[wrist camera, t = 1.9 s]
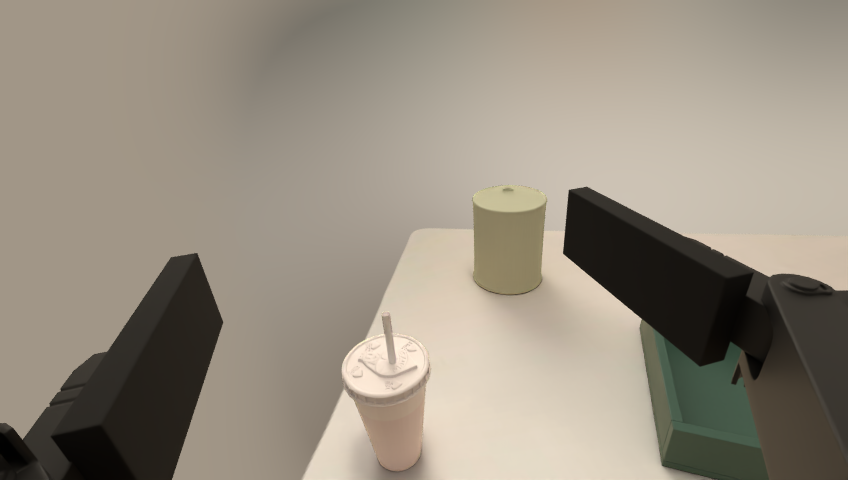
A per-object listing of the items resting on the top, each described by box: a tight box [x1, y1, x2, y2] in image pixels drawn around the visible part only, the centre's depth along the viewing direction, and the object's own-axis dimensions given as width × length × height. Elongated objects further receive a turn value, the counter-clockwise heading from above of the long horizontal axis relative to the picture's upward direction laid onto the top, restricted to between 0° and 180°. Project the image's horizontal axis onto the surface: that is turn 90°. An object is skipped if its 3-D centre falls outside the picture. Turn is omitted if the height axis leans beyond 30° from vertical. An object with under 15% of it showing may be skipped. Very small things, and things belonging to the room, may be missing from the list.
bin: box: [640, 319, 769, 480], centre depth 34 cm, size 17×17×4 cm
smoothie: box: [342, 311, 431, 471], centre depth 30 cm, size 6×6×14 cm
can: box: [472, 185, 547, 295], centre depth 53 cm, size 9×9×12 cm
